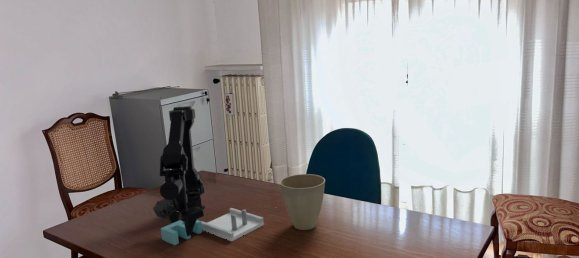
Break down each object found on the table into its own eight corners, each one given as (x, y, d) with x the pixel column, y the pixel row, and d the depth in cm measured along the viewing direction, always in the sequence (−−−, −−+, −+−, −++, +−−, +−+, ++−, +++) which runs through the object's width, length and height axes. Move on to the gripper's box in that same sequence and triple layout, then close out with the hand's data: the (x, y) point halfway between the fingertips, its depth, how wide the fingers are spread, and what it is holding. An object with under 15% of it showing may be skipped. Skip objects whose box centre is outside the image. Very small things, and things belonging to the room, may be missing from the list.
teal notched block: (161, 239, 149) (160, 228, 148) (189, 227, 157) (188, 216, 156) (174, 245, 144) (173, 233, 144) (202, 232, 153) (201, 221, 152)
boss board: (200, 229, 155) (198, 212, 154) (232, 214, 166) (230, 198, 165) (231, 241, 145) (230, 223, 143) (263, 225, 156) (262, 208, 154)
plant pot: (336, 225, 152) (334, 180, 149) (301, 239, 143) (299, 192, 140) (307, 212, 164) (305, 170, 160) (274, 225, 155) (271, 180, 152)
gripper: (139, 190, 147) (145, 235, 151) (173, 202, 135) (179, 250, 139) (168, 180, 155) (173, 223, 159) (202, 191, 143) (207, 236, 147)
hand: (182, 233), depth 151 cm, fingers closed on teal notched block, 7 cm apart
